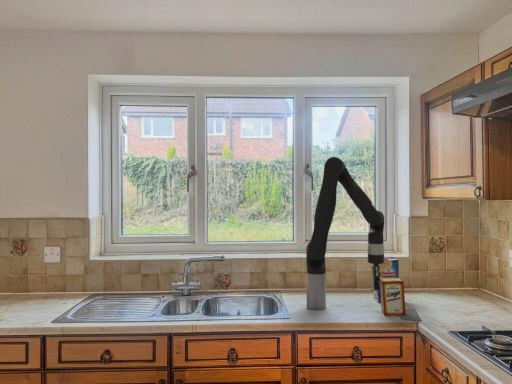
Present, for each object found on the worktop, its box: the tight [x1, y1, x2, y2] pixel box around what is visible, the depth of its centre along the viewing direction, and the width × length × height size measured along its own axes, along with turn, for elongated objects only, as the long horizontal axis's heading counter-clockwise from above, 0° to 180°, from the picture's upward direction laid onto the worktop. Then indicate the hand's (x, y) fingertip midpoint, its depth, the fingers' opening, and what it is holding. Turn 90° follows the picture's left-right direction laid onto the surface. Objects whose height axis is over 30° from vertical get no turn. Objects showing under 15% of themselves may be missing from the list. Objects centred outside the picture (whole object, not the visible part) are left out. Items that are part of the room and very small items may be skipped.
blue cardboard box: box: [373, 257, 400, 304], centre depth 215 cm, size 7×11×22 cm, turn 94°
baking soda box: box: [380, 278, 406, 316], centre depth 192 cm, size 10×6×16 cm
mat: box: [399, 307, 423, 322], centre depth 191 cm, size 8×18×1 cm, turn 168°
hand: (376, 289), depth 194 cm, fingers closed
